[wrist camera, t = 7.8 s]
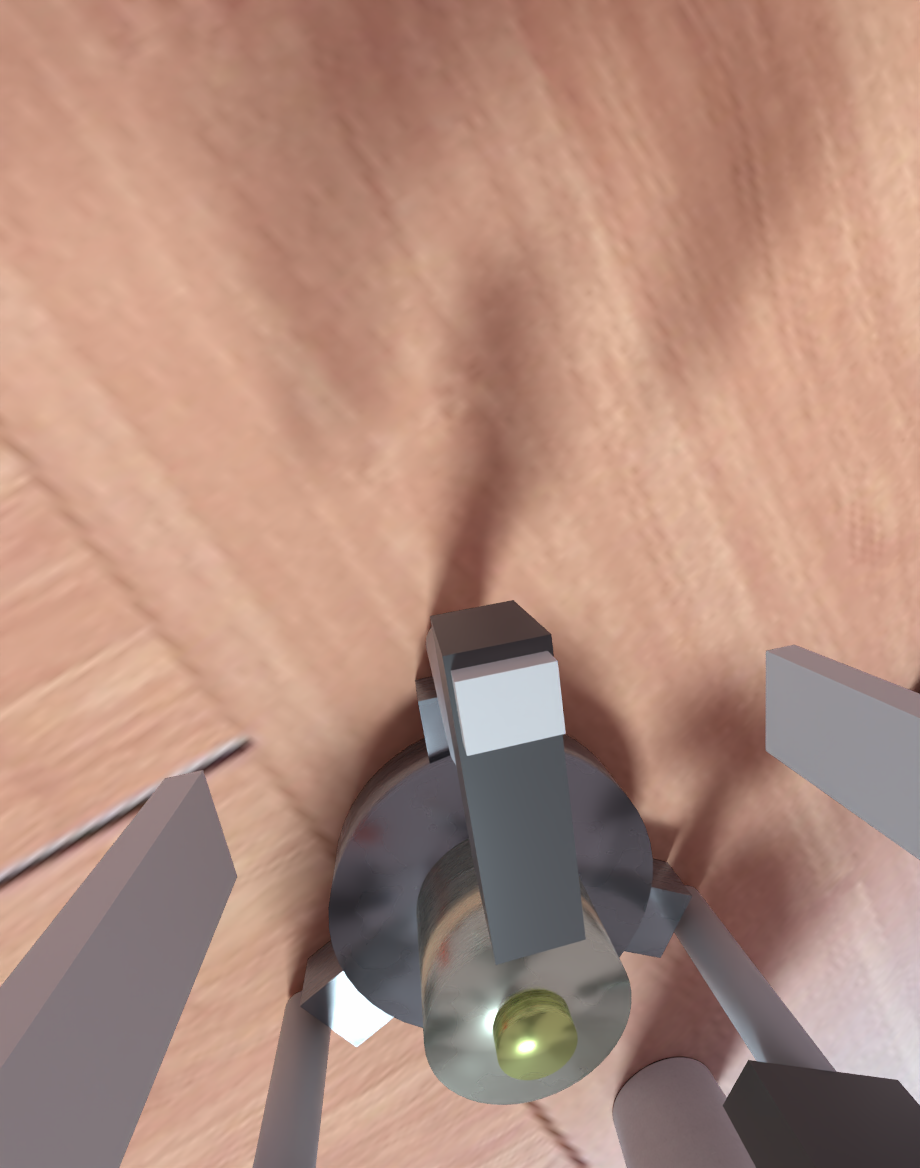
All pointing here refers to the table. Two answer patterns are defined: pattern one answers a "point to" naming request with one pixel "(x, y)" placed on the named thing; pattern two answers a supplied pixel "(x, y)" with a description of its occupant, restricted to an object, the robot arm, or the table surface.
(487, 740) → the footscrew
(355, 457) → the table surface
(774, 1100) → the foot screw
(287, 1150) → the foot screw
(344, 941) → the levelling base
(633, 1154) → the coffee cup
